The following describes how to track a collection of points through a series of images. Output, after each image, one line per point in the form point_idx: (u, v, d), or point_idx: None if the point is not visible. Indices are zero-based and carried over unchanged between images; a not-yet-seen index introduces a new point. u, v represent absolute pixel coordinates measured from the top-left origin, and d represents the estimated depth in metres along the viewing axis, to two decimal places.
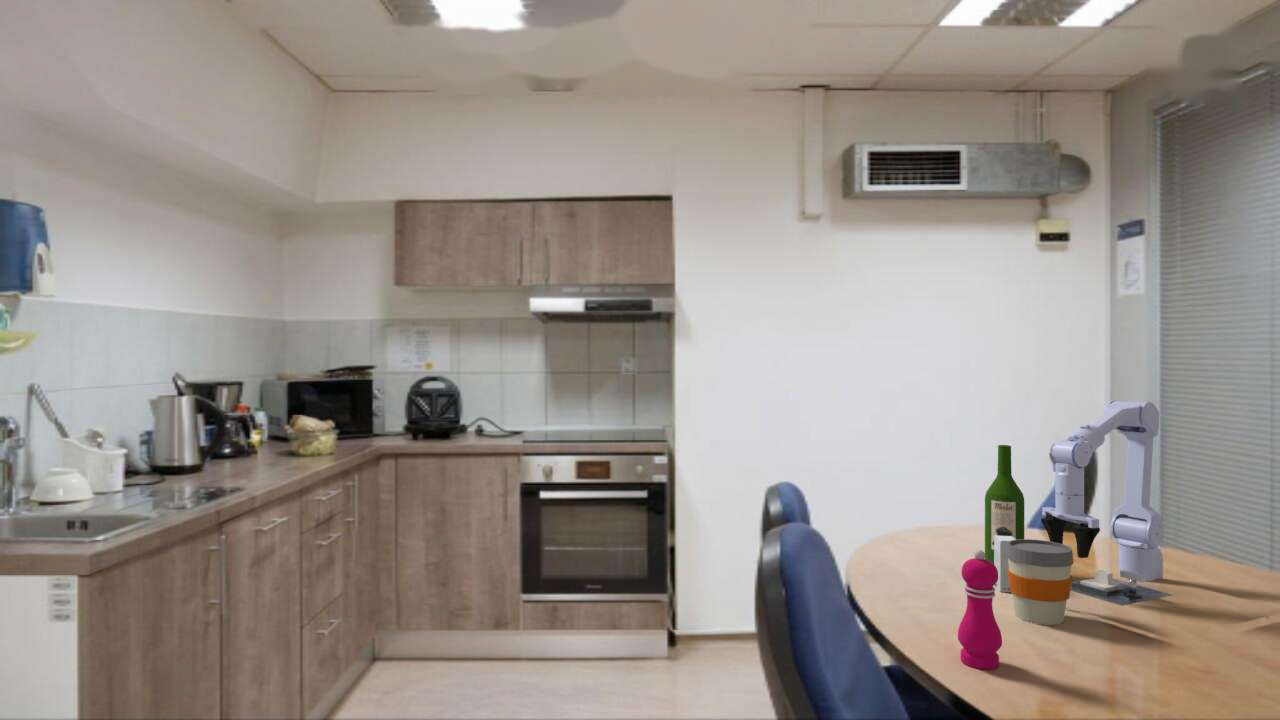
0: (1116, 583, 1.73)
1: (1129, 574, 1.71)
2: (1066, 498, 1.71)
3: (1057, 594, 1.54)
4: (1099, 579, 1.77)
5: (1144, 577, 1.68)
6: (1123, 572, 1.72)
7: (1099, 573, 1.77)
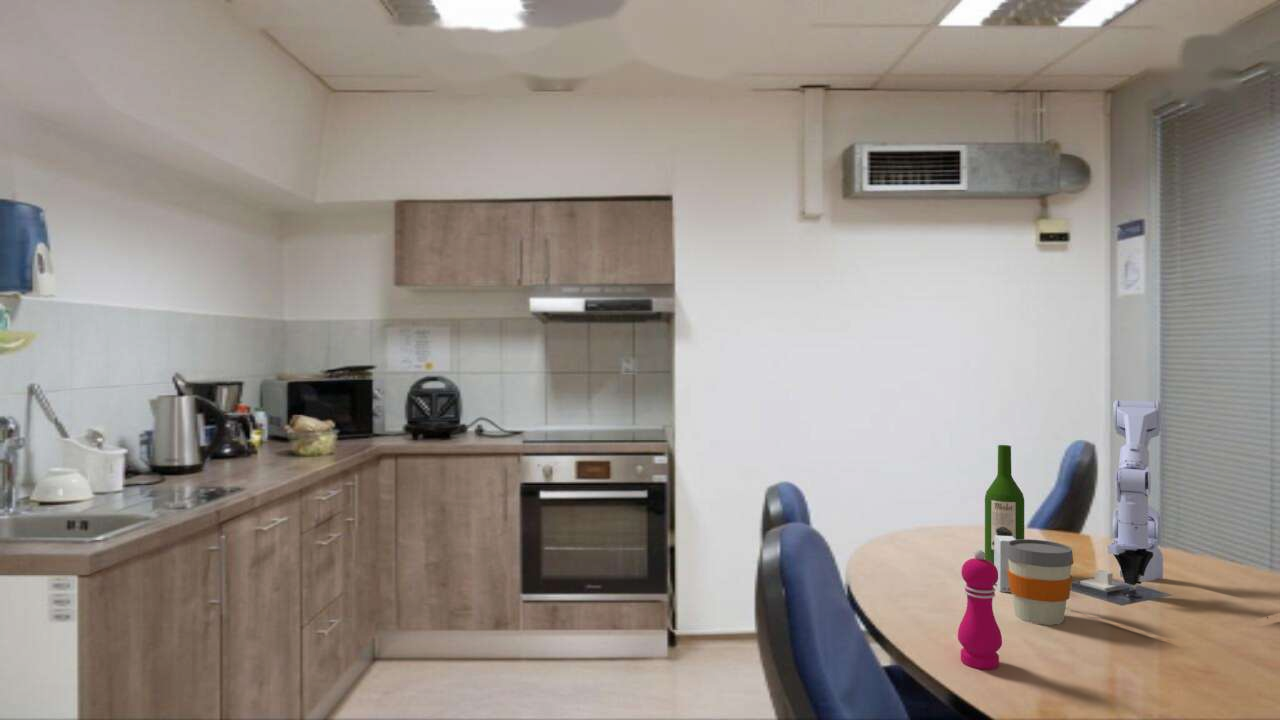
0: (1116, 583, 1.73)
1: None
2: (1117, 524, 1.72)
3: (1056, 594, 1.54)
4: (1099, 579, 1.77)
5: (1144, 577, 1.68)
6: None
7: (1099, 573, 1.77)
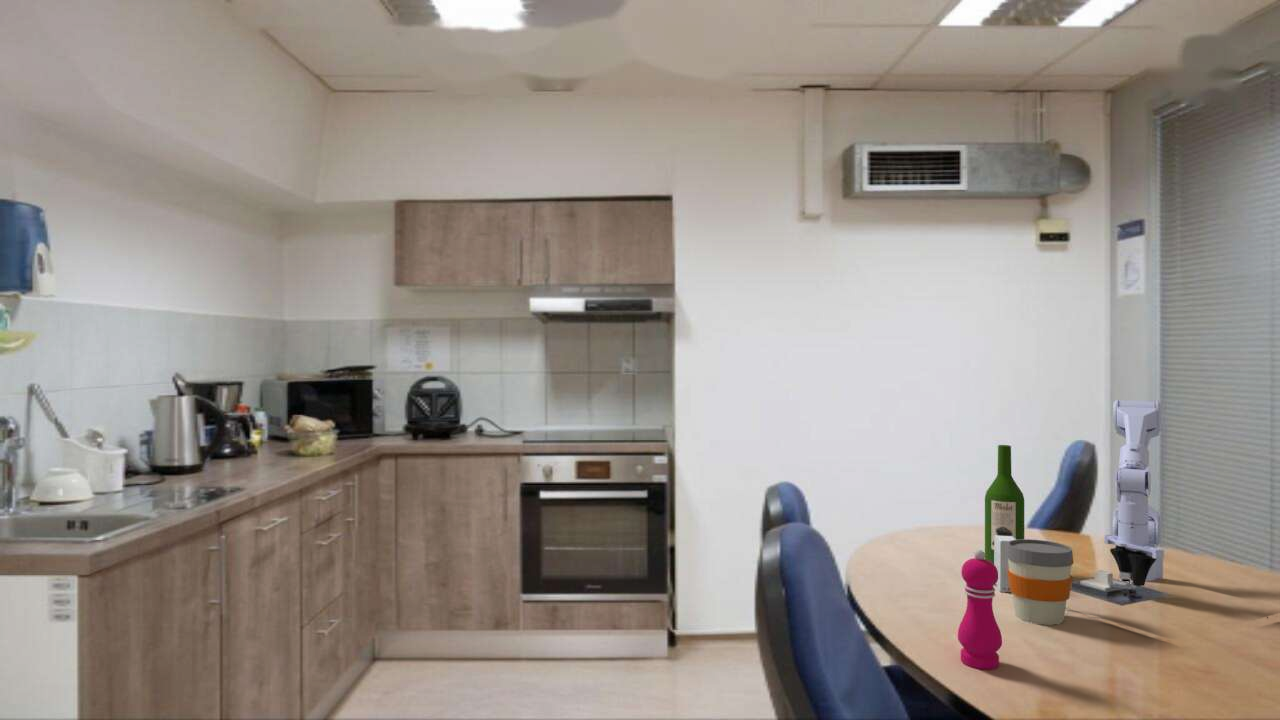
0: (1116, 586, 1.71)
1: (1131, 575, 1.70)
2: (1129, 527, 1.69)
3: (1056, 594, 1.54)
4: (1099, 579, 1.77)
5: None
6: (1124, 574, 1.71)
7: (1099, 573, 1.77)
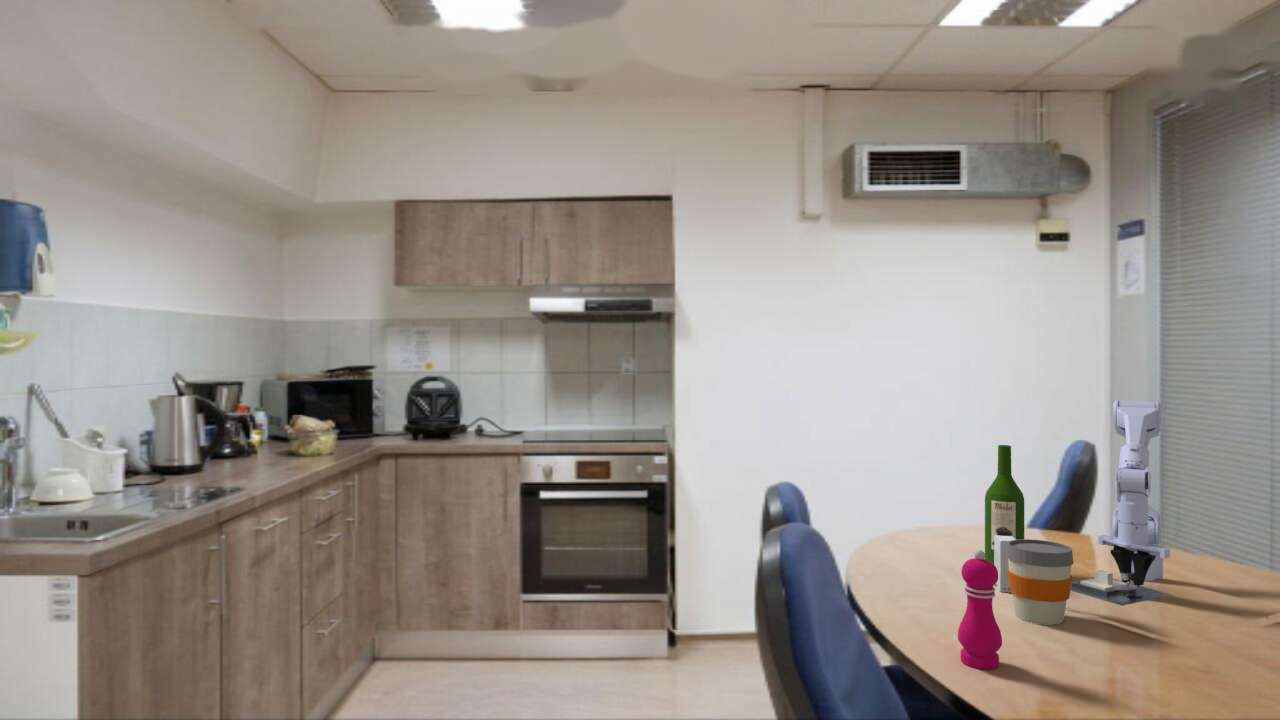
0: (1121, 588, 1.70)
1: (1133, 575, 1.70)
2: (1134, 528, 1.68)
3: (1056, 594, 1.54)
4: (1099, 579, 1.77)
5: None
6: (1127, 575, 1.70)
7: (1099, 573, 1.77)
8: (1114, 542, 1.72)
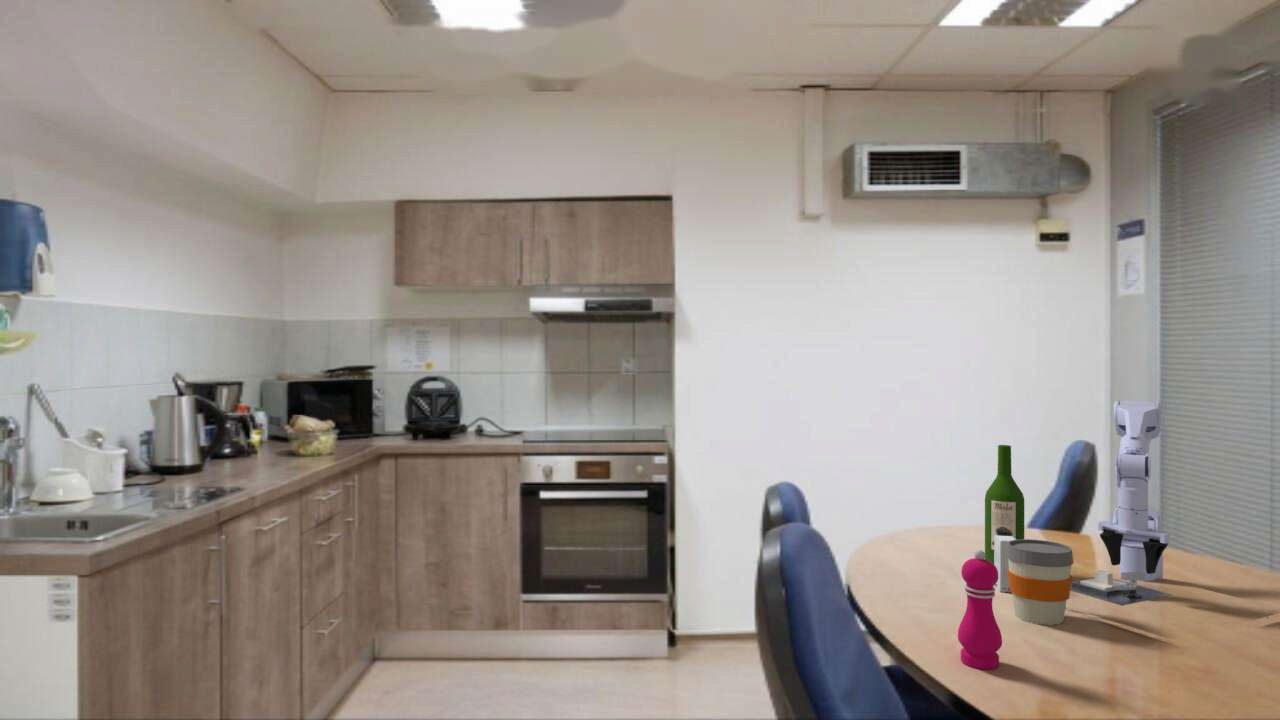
0: (1121, 588, 1.69)
1: (1133, 575, 1.70)
2: (1134, 513, 1.68)
3: (1056, 594, 1.54)
4: (1099, 579, 1.77)
5: None
6: (1127, 575, 1.70)
7: (1099, 573, 1.77)
8: (1114, 528, 1.72)
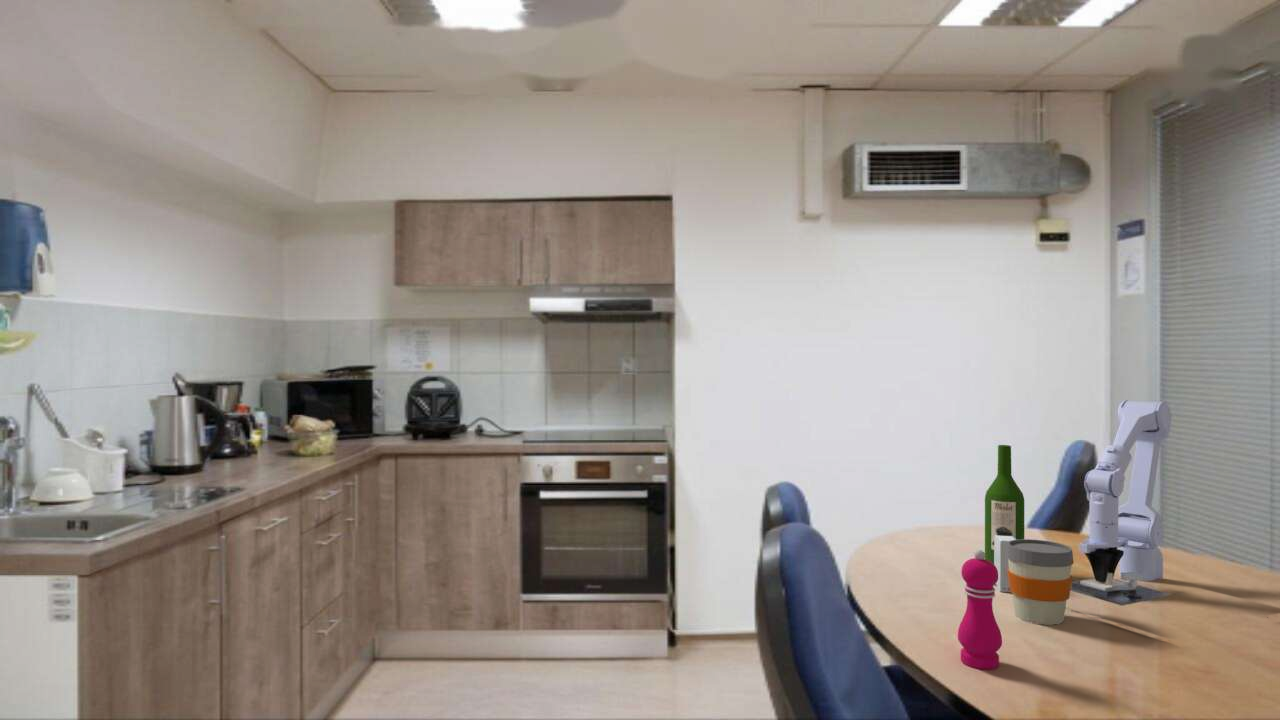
0: (1121, 588, 1.69)
1: (1133, 575, 1.70)
2: None
3: (1056, 594, 1.54)
4: None
5: None
6: (1127, 575, 1.70)
7: None
8: None
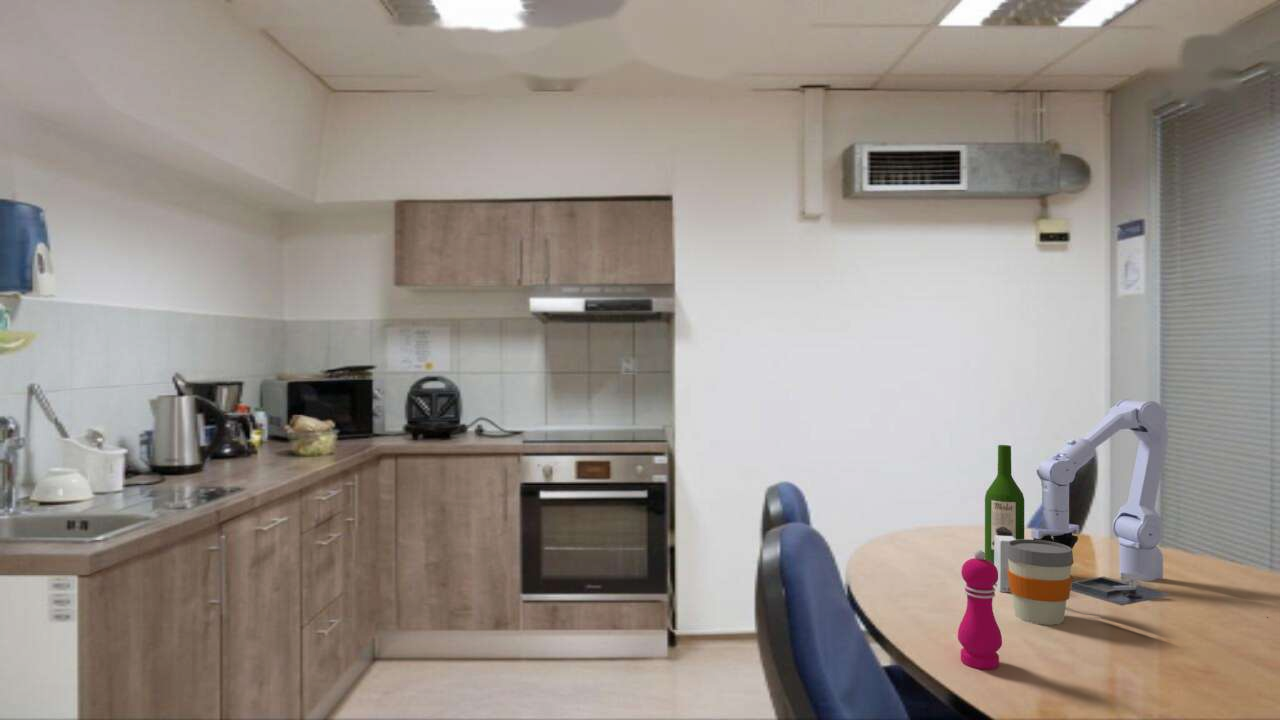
0: (1121, 588, 1.69)
1: (1133, 575, 1.70)
2: (1042, 511, 1.86)
3: (1056, 594, 1.54)
4: None
5: None
6: (1127, 575, 1.70)
7: None
8: None
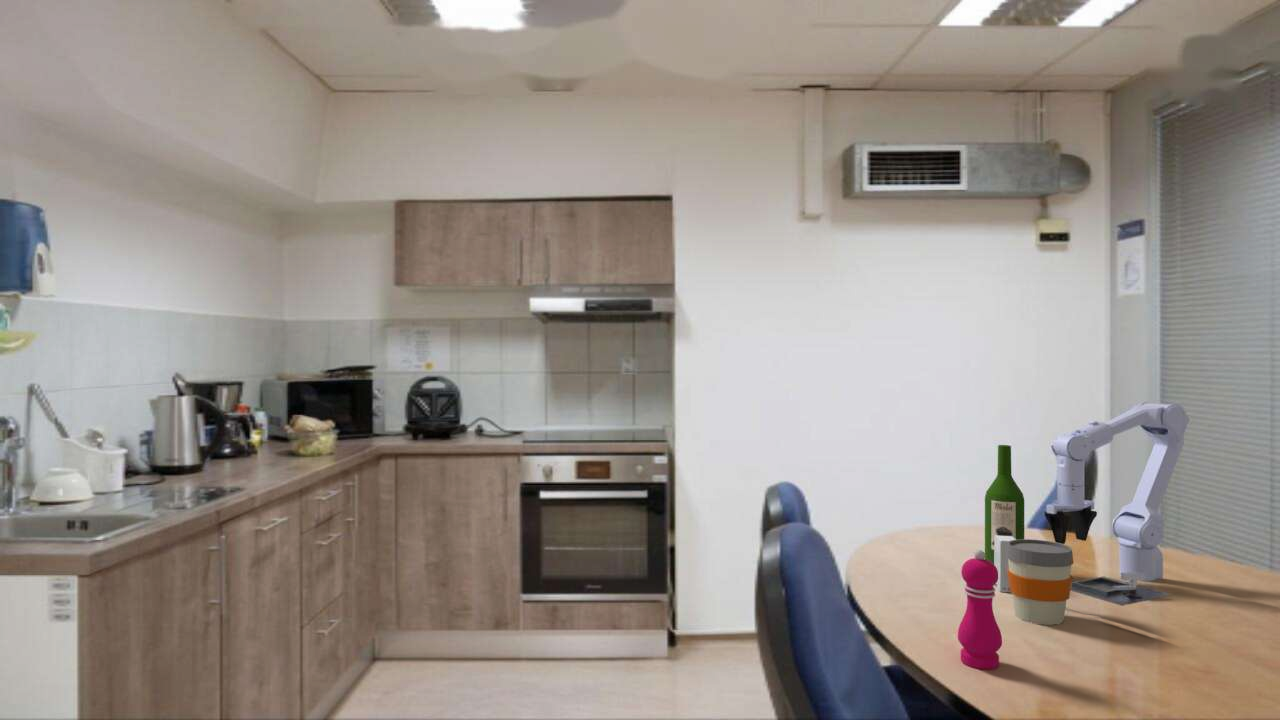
0: (1121, 588, 1.69)
1: (1133, 575, 1.70)
2: (1057, 486, 1.84)
3: (1056, 594, 1.54)
4: None
5: None
6: (1127, 575, 1.70)
7: None
8: None
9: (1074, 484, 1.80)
